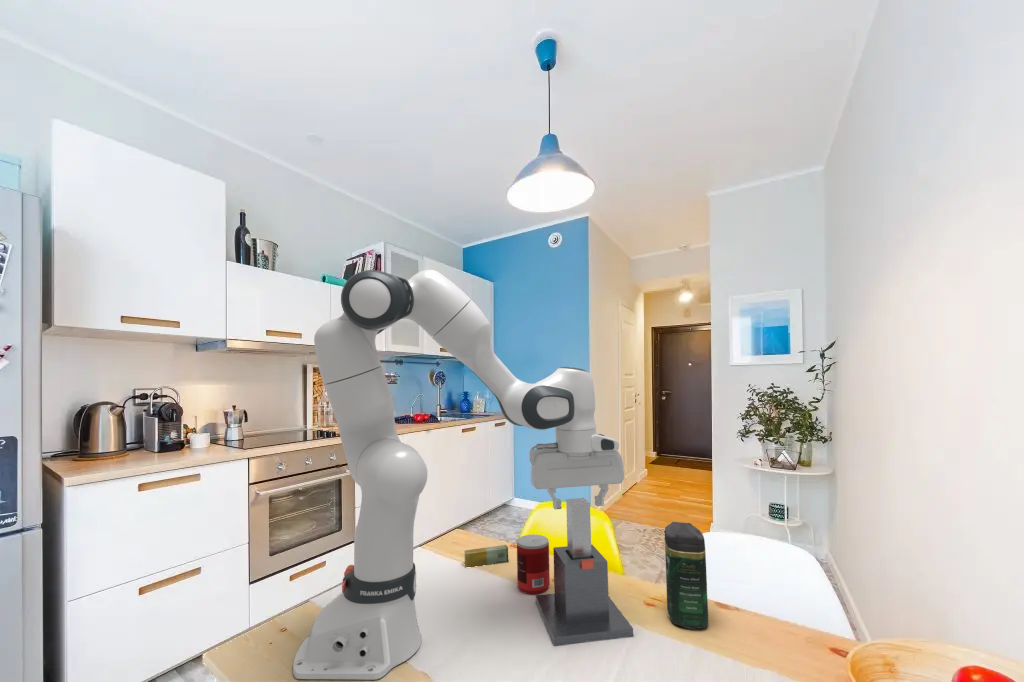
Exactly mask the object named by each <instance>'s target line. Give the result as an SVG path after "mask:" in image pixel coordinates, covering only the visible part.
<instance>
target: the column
mask: <svg viewBox="0 0 1024 682" xmlns="http://www.w3.org/2000/svg"><path fill="white" fill-rule="evenodd" d="M565 503H566V508H565V509H566V539H567V541H566V542H567V545H566V546H567V549H568V556H569V557H570V559H571V560H577V559H589V558H592V557H591V544H592V533H591V531H592V530H591V528H592V527H591V526H592V524H591V503H590V502H589V501H588V500H587V499H586V498H584V497H578V498H576V497H575V498H567V499H566V501H565Z"/></svg>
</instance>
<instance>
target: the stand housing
mask: <svg viewBox="0 0 1024 682" xmlns="http://www.w3.org/2000/svg"><path fill="white" fill-rule="evenodd" d="M591 557H592V558H589V559H577V560H571V559H570V557H569V556H568V549H567V545H566V546H555V547H553V585H554V588H553V589H554V591H553V593H552V592H551V593H541V594H535V604H536V607H537V609H538V611H539V613H540V616H541V618H542V620H543V623H544V625H545V628H546V630H547V633H548V635H549V638H550V640H551V643H552V644H553V645H552V646H553V647H555V646H556V647H557V646H564V645H572V644H580V643H583V644H584V643H588V642H589V643H591V642H599V641H604V640H605V641H606V640H615V639H616V640H617V639H621V638H622V639H624V638H629V637H630V638H631V637H632V638H633V637H634V628H633V626H632V625H631V623H630V622H629V621H628V619H626V617H625V615H624V614H623V613H622V611H621V610H620V609H619V608H618V606H617V605H616V604H615V603H614V601H613V600H612V599H611V597H610V596H609V575H608V574H609V571H608V568H609V567H608V560H607V559H606V557H604V556H603V554H602V553H600V551H599V549H597V548H596V547H595V546H594V544H592V543H591Z"/></svg>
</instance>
